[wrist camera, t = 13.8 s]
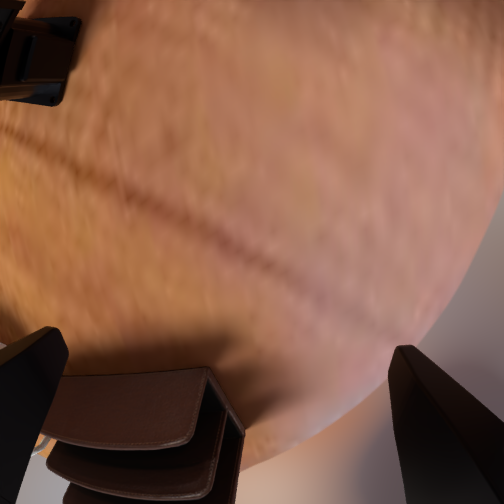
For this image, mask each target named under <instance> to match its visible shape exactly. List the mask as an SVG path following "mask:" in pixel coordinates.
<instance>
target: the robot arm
mask: <svg viewBox="0 0 504 504" xmlns="http://www.w3.org/2000/svg"><path fill="white" fill-rule="evenodd" d="M25 3H26V1H24V0H0V101H2V100H9V101H16V102H24V103H31V104H37V105H44V106H50V107H53V106H58V105H59V104H60V101H61V98H62V93H63V88H64V84H65V79H66V75H67V71H68V67H69V63H70V60H71V56H72V52H73V49H74V45H75V42H76V39H77V36H78V32H79V29H80V26H81V22H82V21H81V19H80V18H78V17H52V18H37V19H26V18H21V17H16V16H17V14H18V13H19V11H20V10H22V8H23V6H24V4H25ZM74 22H75V25H74V26H73V23H74ZM54 97H55V101H53V99H54ZM68 356H69V351H68V348H67V345H66V343H65V341H64V339H63V336H62V334H61V332H60V330H59V329H58V328H56V327H50V326H46V327H44V328H42V329H40V330H38V331H36V332H34V333H32V334H30V335H28V336H26V337H24V338H22V339H20V340H18V341H16V342H14V343H12V344H10V345H8V346H6V347H4V348H2V349H0V504H15V503H16V500H17V496H18V493H19V490H20V487H21V484H22V481H23V478H24V475H25V472H26V469H27V466H28V463H29V460H30V458H31V455H32V452H33V449H34V447H35V444H36V441H37V439H38V436H39V434H40V431H41V429H42V426H43V424H44V421H45V419H46V416H47V414H48V412H49V409H50V407H51V405H52V402H53V400H54V397H55V394H56V391H57V388H58V385H59V382H60V379H61V376H62V374H63V371H64V368H65V365H66V362H67V360H68ZM388 383H389V391H390V400H391V409H392V420H393V430H394V435H395V440H396V446H397V451H398V456H399V461H400V467H401V472H402V478H403V484H404V490H405V497H406V503H407V504H504V422H503V421H502V420H500V419H499V418H498V417H497V416H496V415H495V414H494V413H492V412H491V411H490V410H489V409H488V408H487V407H485V406H484V405H483V404H482V403H481V402H480V401H479V400H478V399H476V398H475V397H474V396H473V395H472V394H471V393H469V392H468V391H467V390H466V389H465V388H464V387H462V386H461V385H460V384H459V383H458V382H456V381H455V380H454V379H453V378H452V377H450V376H449V375H448V374H447V373H446V372H445V371H443V370H442V369H441V368H440V367H439V366H438V365H436V364H435V363H434V362H433V361H432V360H430V359H429V358H428V357H427V356H426V355H424V354H423V353H422V352H421V351H420V350H418V349H417V348H416V347H415V346H413V345H399V346H397V347H396V348H395V350H394V354H393V357H392V360H391V363H390V367H389V370H388Z"/></svg>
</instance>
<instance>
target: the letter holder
mask: <svg viewBox="0 0 504 504" xmlns="http://www.w3.org/2000/svg"><path fill="white" fill-rule="evenodd" d="M40 433H41V434H43V435H45V436H47V437H50V438H53V439H56V440H57V442H56V444H55V445H54V447H53V449H52V451H51V452H50V455H49V456H48V458H47V460H46V466H47V468H48V469H49V470H50V471H52V472H54V473H55V474H57V475H59V476H60V477H62V478H64V479H66V480H68V481H70V484H69V486H68V488H67V491H66V493H65V495H64V497H63V504H235V499H236V491H237V485H238V477H239V473H240V472H239V470H240V464H241V457H242V451H243V445H244V438H245V428H244V427H243V425H242V423H241V421H240V420H239V418H238V416H237V415H236V413H235V411H234V410H233V408H232V406H231V404H230V403H229V401H228V399H227V398H226V396H225V394H224V393H223V391H222V389H221V387H220V385H219V384H218V382H217V380H216V379H215V377H214V375H213V373H212V371H211V370H210V368H209V367H203V368H195V369H193V368H191V369H185V370H175V371H165V372H152V373H138V374H121V375H102V376H99V375H97V376H61V379H60V382H59V385H58V388H57V391H56V394H55V397H54V400H53V402H52V405H51V407H50V409H49V412H48V414H47V416H46V419H45V421H44V424H43V426H42V429H41V431H40Z"/></svg>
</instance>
